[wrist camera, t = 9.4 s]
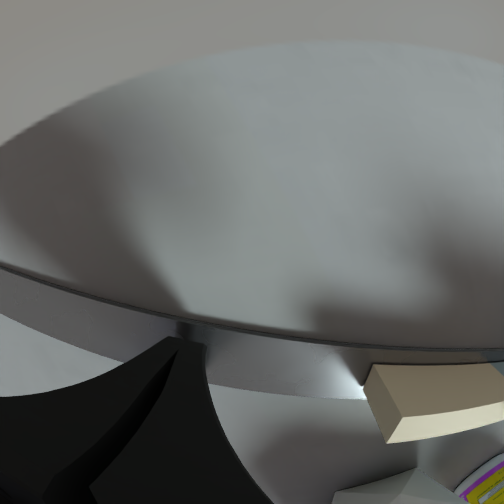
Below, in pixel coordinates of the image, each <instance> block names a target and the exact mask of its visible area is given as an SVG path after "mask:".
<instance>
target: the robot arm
mask: <svg viewBox="0 0 504 504" xmlns="http://www.w3.org/2000/svg"><path fill="white" fill-rule="evenodd" d="M206 355H207V346H206V345H205V344H204V343H199V342H194V341H189V340H185V339H180V338H176V337H171V336H167V337H166V338H164V339H162V340H161V341H159V342H158V343H156V344H155V345H153V346H152V347H150V348H149V349H147V350H145V351H144V352H142V353H141V354H139V355H137V356H136V357H134V358H132V359H131V360H129V361H127V362H126V363H124V364H122V365H120V366H118V367H116V368H114V369H112V370H110V371H108V372H106V373H104V374H102V375H100V376H97V377H95V378H92V379H90V380H87V381H84V382H81V383H79V384H75V385H72V386H68V387H65V388H61V389H57V390H53V391H49V392H44V393H38V394H32V395H23V396H12V397H0V504H274V503H273V502H272V501H271V500H270V499H269V498H268V496H267V495H266V494H265V493H264V492H263V491H262V490H261V488H260V487H259V486H258V485H257V484H256V482H255V481H254V480H253V478H252V477H251V476H250V474H249V473H248V471H247V470H246V469H245V467H244V466H243V464H242V463H241V461H240V459H239V458H238V456H237V454H236V453H235V451H234V449H233V448H232V446H231V444H230V443H229V441H228V439H227V437H226V435H225V433H224V430H223V428H222V426H221V424H220V421H219V419H218V416H217V414H216V411H215V408H214V405H213V402H212V398H211V395H210V391H209V387H208V381H207V376H206V368H205V363H206Z"/></svg>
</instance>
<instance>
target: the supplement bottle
mask: <svg viewBox="0 0 504 504" xmlns="http://www.w3.org/2000/svg"><path fill="white" fill-rule="evenodd" d="M454 494H456V495H457V496H459V497H460V498H462V499H464V500H465V501H467V502H468V503H470V504H504V453H502V454H500V455H498V456H496V457H494V458H493V459H491V460H490V461H488V462H487V463H485V464H484V465H482V466H481V467H480V468H478V469H477V470H476V471H475V472H473V473H472V474H471V475H470V476H469V477H467V478H466V479H465V480H464V481H463V482H462V483H461V484H460V485H459V486H458V487H457V489H456V490H455V491H454Z"/></svg>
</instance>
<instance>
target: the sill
mask: <svg viewBox="0 0 504 504" xmlns="http://www.w3.org/2000/svg"><path fill="white" fill-rule="evenodd" d="M0 313H1V314H3V315H5V316H7V317H9V318H11V319H13V320H15V321H17V322H19V323H21V324H24V325H26V326H28V327H30V328H32V329H35V330H37V331H39V332H41V333H44V334H46V335H49V336H51V337H53V338H56V339H58V340H61V341H63V342H66V343H68V344H71V345H74V346H76V347H79V348H82V349H85V350H87V351H90V352H93V353H96V354H99V355H102V356H105V357H108V358H111V359H114V360H117V361H121V362H124V363H126V362H127V361H129V360H131V359H132V358H134V357H136V356H137V355H139V354H141V353H142V352H144V351H145V350H147V349H149V348H150V347H152V346H153V345H155V344H156V343H158V342H159V341H161V340H162V339H164V338H166V337H167V336H171V337H176V338H180V339H185V340H189V341H194V342H199V343H204V344H205V345H206V346H207V355H206V363H205V368H206V376H207V381H208V383H209V384H215V385H220V386H226V387H232V388H238V389H244V390H251V391H258V392H266V393H274V394H283V395H293V396H304V397H318V398H336V399H367V398H366V396H365V394H364V392H363V387H364V385H365V383H366V380H367V378H368V376H369V374H370V371H371V369H372V366H373V364H376V365H408V366H437V365H468V364H485V363H497V362H504V348H492V349H438V348H410V347H392V346H378V345H365V344H353V343H343V342H333V341H324V340H315V339H307V338H299V337H292V336H284V335H277V334H270V333H264V332H257V331H251V330H245V329H239V328H233V327H228V326H222V325H217V324H211V323H206V322H201V321H196V320H191V319H186V318H182V317H177V316H172V315H168V314H163V313H159V312H154V311H150V310H146V309H142V308H138V307H134V306H129V305H126V304H122V303H118V302H114V301H110V300H106V299H103V298H99V297H95V296H92V295H88V294H85V293H81V292H78V291H74V290H71V289H68V288H64V287H61V286H58V285H55V284H52V283H49V282H45V281H42V280H39V279H36V278H33V277H30V276H27V275H25V274H22V273H19V272H16V271H13V270H10V269H8V268H5V267H2V266H0Z"/></svg>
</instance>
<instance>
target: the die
mask: <svg viewBox="0 0 504 504" xmlns="http://www.w3.org/2000/svg"><path fill="white" fill-rule="evenodd" d="M332 504H470V503H468V502H467V501H465V500H464V499H462V498H460V497H459V496H457V495H456V494H454V493H453V492H451V491H450V490H448V489H447V488H445V487H444V486H442V485H441V484H440V483H438V482H437V481H435V480H434V479H432V478H431V477H429V476H428V475H427V474H425V473H424V472H422V471H421V470H420V469H418V468H417V467H416V468H414V469H411V470H408V471H406V472H403V473H400V474H397V475H394V476H391V477H388V478H385V479H382V480H379V481H375V482H372V483H368V484H365V485H361V486H357V487H353V488H349V489H345V490H340V491H336V492H335V494H334V497H333V500H332Z"/></svg>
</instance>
